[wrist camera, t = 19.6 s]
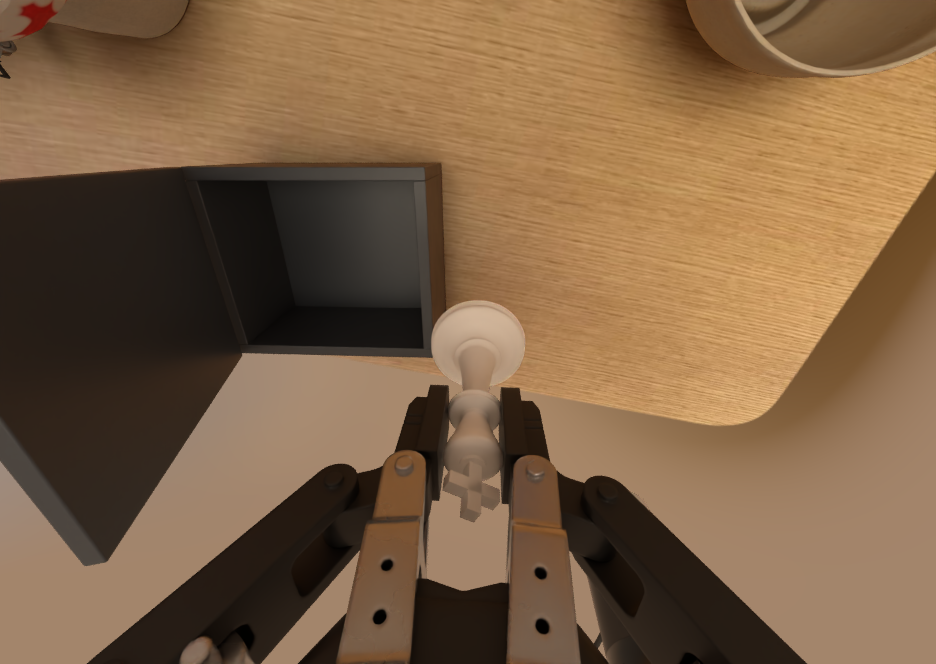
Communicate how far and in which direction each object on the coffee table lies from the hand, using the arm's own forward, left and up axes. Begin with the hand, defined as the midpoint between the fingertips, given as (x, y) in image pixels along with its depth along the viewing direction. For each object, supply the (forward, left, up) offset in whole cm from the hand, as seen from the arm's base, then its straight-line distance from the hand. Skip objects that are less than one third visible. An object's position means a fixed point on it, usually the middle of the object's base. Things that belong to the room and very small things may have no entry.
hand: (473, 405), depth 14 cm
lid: (+1, +16, -4) cm, 17 cm away
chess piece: (0, 0, -5) cm, 5 cm away
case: (+1, +11, -21) cm, 24 cm away
